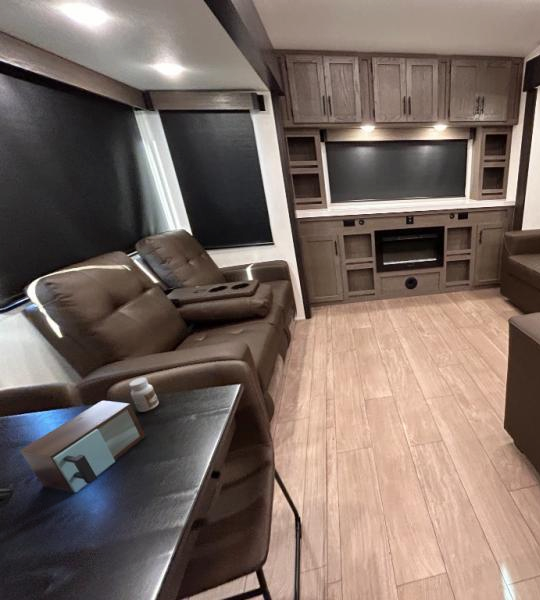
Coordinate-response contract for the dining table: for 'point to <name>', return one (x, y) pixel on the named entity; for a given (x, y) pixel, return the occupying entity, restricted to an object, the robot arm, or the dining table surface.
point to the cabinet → (103, 416)
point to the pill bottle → (143, 395)
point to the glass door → (84, 460)
